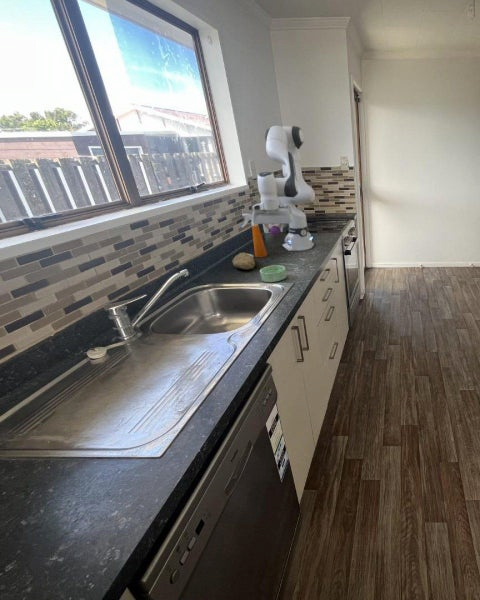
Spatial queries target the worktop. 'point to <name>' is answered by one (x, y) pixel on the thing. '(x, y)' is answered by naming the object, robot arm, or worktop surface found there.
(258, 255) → the spray bottle
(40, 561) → the worktop surface
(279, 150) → the robot arm
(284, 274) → the bowl
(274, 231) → the ball
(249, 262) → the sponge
